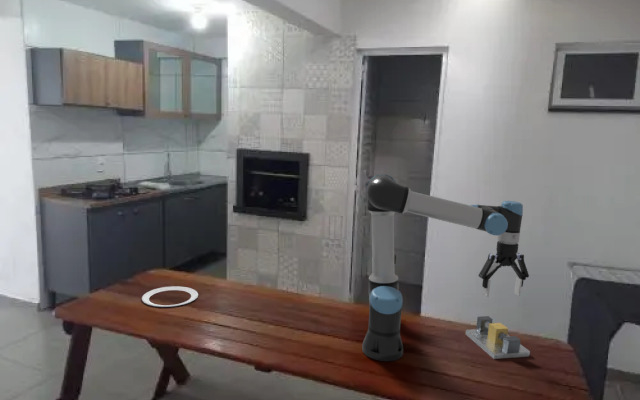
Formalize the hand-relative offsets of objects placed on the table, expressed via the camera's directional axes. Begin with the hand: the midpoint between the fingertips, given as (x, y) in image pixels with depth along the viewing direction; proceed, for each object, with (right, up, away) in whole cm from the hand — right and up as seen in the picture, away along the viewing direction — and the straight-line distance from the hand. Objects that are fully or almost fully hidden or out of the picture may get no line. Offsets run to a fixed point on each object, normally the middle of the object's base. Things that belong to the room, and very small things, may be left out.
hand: (501, 295), depth 176 cm
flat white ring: (-140, -9, +36) cm, 145 cm away
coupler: (-1, -18, +3) cm, 19 cm away
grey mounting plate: (-1, -20, +3) cm, 21 cm away
